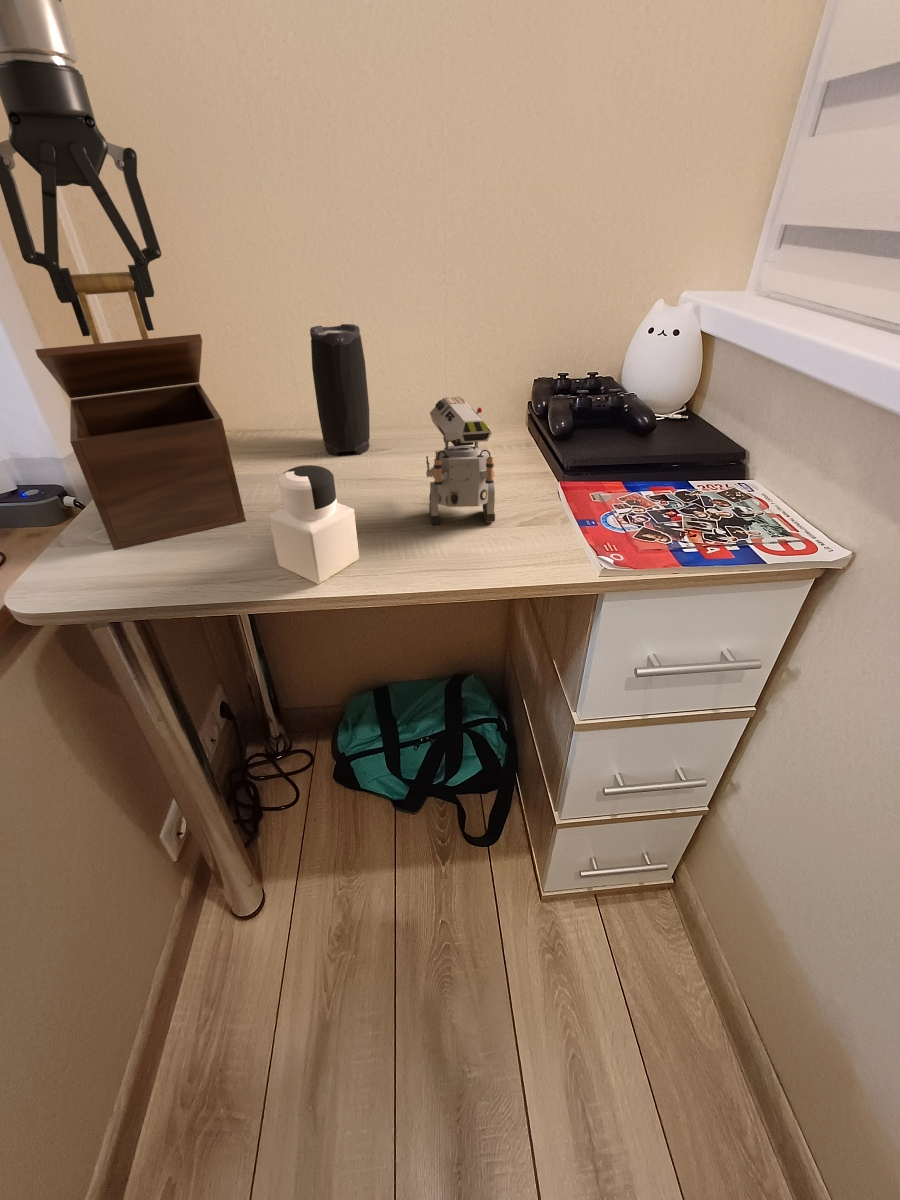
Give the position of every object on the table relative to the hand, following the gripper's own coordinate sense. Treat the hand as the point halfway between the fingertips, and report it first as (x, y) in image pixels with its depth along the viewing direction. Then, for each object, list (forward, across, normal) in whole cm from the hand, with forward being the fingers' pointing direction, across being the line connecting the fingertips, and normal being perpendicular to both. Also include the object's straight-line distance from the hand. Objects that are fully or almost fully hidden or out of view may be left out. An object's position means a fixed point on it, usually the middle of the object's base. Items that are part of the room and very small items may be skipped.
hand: (118, 330), depth 67 cm
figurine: (+24, -36, +18) cm, 47 cm away
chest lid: (+5, 0, -2) cm, 5 cm away
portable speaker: (+24, -30, -12) cm, 40 cm away
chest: (+24, 0, -1) cm, 24 cm away
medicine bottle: (+24, -14, +22) cm, 36 cm away
